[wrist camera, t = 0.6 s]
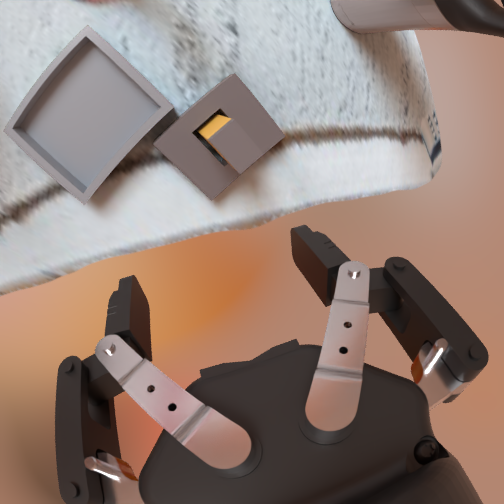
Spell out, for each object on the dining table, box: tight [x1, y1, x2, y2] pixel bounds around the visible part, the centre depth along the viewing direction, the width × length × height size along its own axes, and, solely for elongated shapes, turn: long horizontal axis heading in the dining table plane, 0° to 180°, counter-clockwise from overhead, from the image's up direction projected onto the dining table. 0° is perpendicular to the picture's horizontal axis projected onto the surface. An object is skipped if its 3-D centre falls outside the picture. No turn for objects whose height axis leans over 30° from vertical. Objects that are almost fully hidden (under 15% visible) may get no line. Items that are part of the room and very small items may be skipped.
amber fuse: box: [197, 114, 263, 174], centre depth 28 cm, size 3×4×9 cm, turn 39°
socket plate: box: [153, 73, 285, 200], centre depth 30 cm, size 12×10×2 cm
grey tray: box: [4, 25, 174, 205], centre depth 23 cm, size 15×15×3 cm
